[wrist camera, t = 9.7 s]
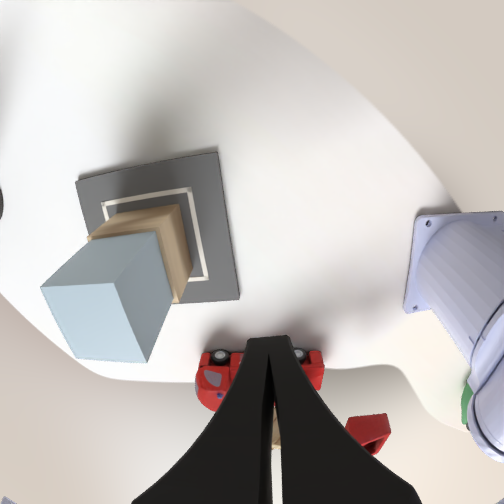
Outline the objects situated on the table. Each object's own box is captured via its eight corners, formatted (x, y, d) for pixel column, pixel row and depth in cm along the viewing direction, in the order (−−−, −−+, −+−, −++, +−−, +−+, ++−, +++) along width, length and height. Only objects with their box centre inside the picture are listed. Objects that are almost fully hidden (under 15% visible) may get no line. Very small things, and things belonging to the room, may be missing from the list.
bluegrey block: (173, 298, 16) (147, 363, 11) (112, 301, 16) (76, 358, 12) (155, 230, 14) (113, 282, 10) (91, 239, 14) (39, 287, 10)
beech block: (179, 203, 18) (159, 226, 14) (192, 268, 20) (179, 302, 16) (116, 213, 18) (86, 237, 14) (133, 273, 20) (111, 305, 16)
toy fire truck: (197, 347, 23) (174, 449, 15) (362, 342, 23) (396, 438, 14) (202, 373, 25) (185, 468, 16) (355, 368, 24) (380, 459, 16)
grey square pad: (217, 151, 17) (216, 152, 16) (239, 296, 21) (239, 300, 21) (77, 180, 17) (74, 181, 17) (115, 303, 22) (113, 306, 21)
